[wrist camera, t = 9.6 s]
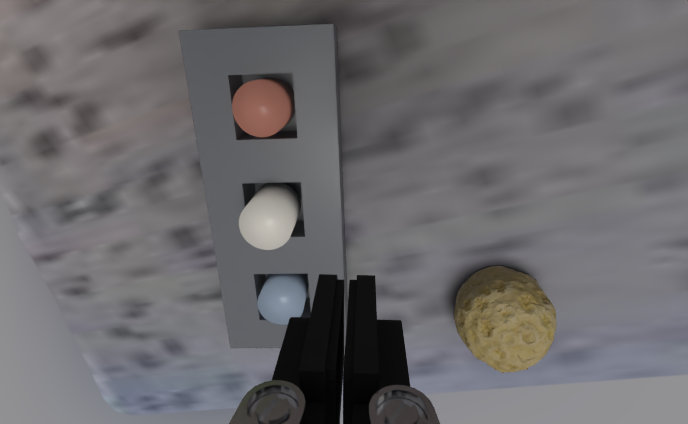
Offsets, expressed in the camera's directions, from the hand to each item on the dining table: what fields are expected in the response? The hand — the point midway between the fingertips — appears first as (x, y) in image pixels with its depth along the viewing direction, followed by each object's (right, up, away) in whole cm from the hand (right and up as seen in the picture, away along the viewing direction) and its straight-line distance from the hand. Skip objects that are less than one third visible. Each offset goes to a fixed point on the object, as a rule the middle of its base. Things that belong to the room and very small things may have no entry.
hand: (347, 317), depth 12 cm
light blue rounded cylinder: (-6, -4, +31) cm, 32 cm away
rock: (+16, -7, +33) cm, 37 cm away
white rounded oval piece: (-6, +4, +26) cm, 27 cm away
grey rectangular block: (-6, +5, +29) cm, 30 cm away
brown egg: (-6, +13, +25) cm, 28 cm away
